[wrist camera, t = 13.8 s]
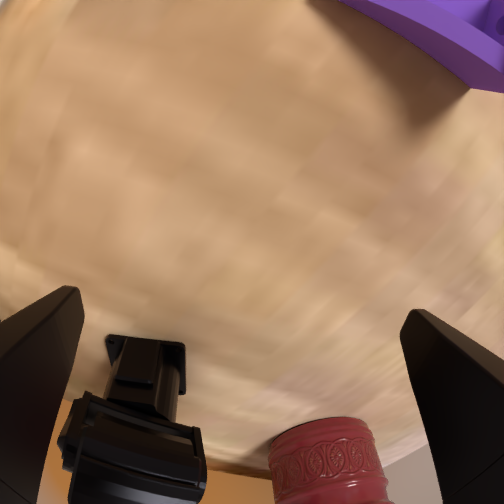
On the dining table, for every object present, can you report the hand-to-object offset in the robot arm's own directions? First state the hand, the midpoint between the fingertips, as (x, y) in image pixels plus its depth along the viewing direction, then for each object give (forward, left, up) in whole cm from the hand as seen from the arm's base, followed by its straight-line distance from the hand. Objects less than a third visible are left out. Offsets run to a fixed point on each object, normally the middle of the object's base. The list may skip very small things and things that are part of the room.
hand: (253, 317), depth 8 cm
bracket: (+14, -10, -13) cm, 21 cm away
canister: (-30, -13, -12) cm, 35 cm away
